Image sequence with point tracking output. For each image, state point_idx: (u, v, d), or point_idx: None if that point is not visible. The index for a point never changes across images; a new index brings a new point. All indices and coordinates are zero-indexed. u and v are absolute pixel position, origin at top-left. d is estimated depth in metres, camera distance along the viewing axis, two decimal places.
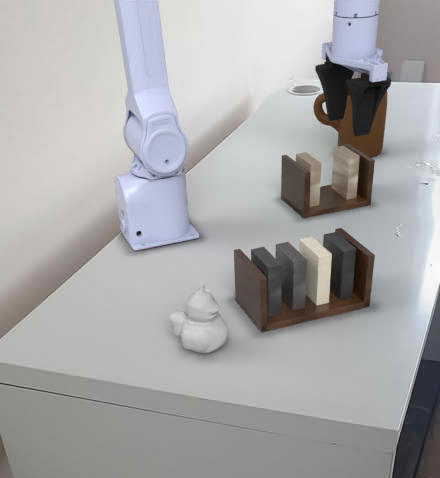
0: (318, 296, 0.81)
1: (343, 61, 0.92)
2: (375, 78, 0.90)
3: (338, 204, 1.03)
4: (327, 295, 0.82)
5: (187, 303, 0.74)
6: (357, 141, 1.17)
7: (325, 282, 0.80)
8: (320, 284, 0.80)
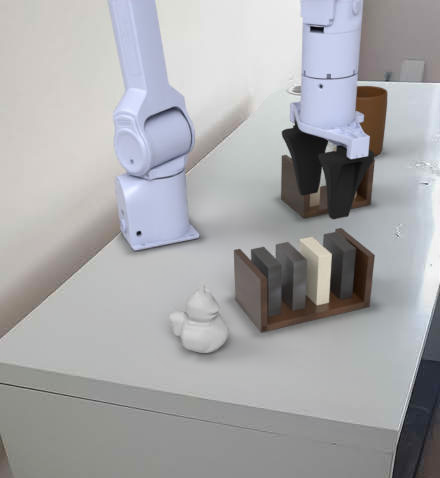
0: (318, 296, 0.81)
1: (314, 131, 0.74)
2: (354, 154, 0.71)
3: None
4: (327, 295, 0.82)
5: (187, 303, 0.74)
6: None
7: (325, 282, 0.80)
8: (320, 284, 0.80)
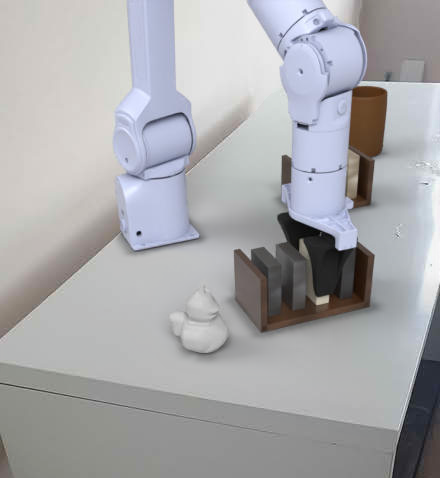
0: None
1: (304, 220, 0.75)
2: (342, 246, 0.73)
3: None
4: (327, 295, 0.82)
5: (187, 303, 0.74)
6: (357, 141, 1.17)
7: None
8: None
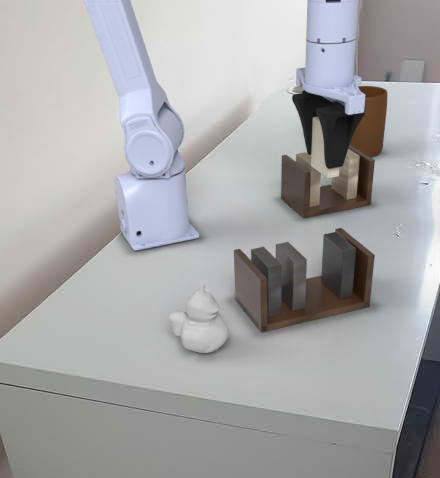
0: None
1: (317, 90, 0.84)
2: (351, 110, 0.81)
3: (338, 204, 1.03)
4: (337, 168, 0.90)
5: (187, 303, 0.74)
6: (357, 141, 1.17)
7: None
8: None
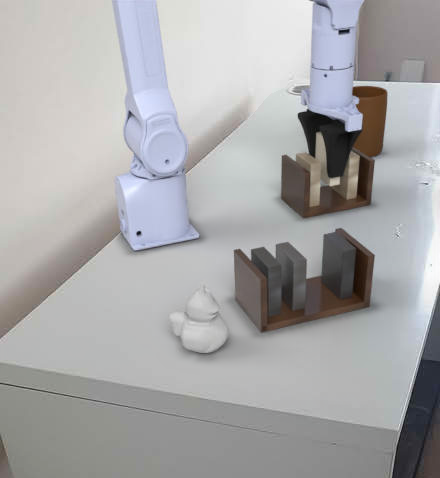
0: None
1: (320, 110, 0.95)
2: (350, 128, 0.93)
3: (338, 204, 1.03)
4: (338, 177, 1.02)
5: (187, 303, 0.74)
6: (357, 141, 1.17)
7: None
8: None
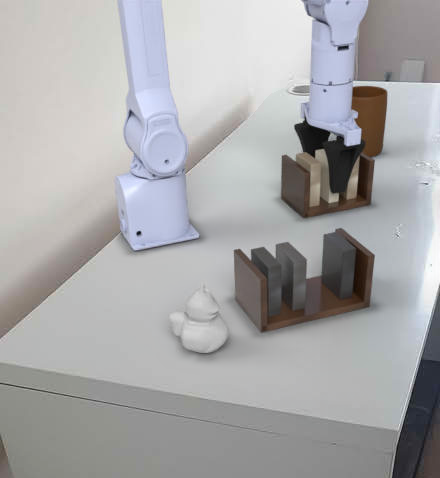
0: (330, 195, 1.03)
1: (319, 124, 0.97)
2: (349, 142, 0.94)
3: (338, 204, 1.03)
4: (337, 194, 1.04)
5: (187, 303, 0.74)
6: None
7: None
8: None
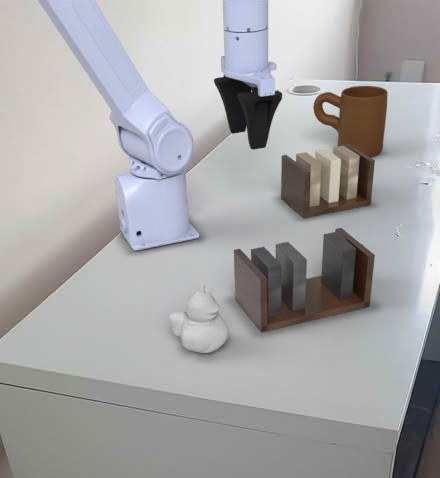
0: (330, 195, 1.03)
1: (234, 75, 0.93)
2: (263, 92, 0.90)
3: (338, 204, 1.03)
4: (337, 194, 1.04)
5: (187, 303, 0.74)
6: (357, 141, 1.17)
7: (335, 183, 1.02)
8: (331, 185, 1.02)
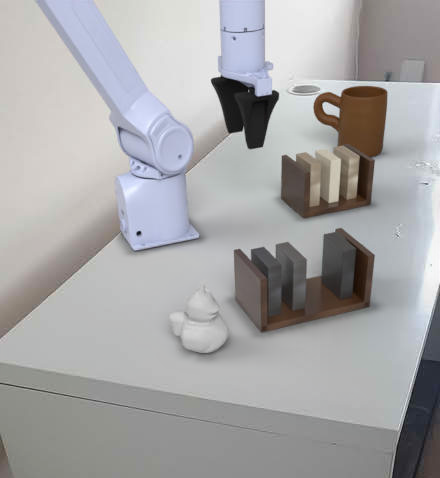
0: (330, 195, 1.03)
1: (231, 75, 0.93)
2: (260, 92, 0.90)
3: (338, 204, 1.03)
4: (337, 194, 1.04)
5: (187, 303, 0.74)
6: (357, 141, 1.17)
7: (335, 183, 1.02)
8: (331, 185, 1.02)
